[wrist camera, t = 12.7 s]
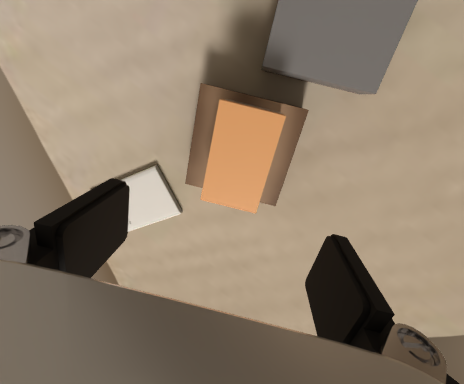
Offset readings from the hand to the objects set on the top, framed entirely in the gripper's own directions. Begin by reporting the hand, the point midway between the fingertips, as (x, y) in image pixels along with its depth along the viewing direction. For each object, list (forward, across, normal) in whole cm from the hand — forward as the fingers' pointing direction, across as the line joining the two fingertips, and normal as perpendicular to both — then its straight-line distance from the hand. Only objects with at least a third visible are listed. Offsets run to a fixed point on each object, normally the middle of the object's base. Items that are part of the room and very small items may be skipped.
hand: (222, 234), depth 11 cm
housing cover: (+14, 0, 0) cm, 14 cm away
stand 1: (+22, 0, 0) cm, 22 cm away
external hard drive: (+22, +14, +13) cm, 30 cm away
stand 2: (+22, -6, -15) cm, 27 cm away
